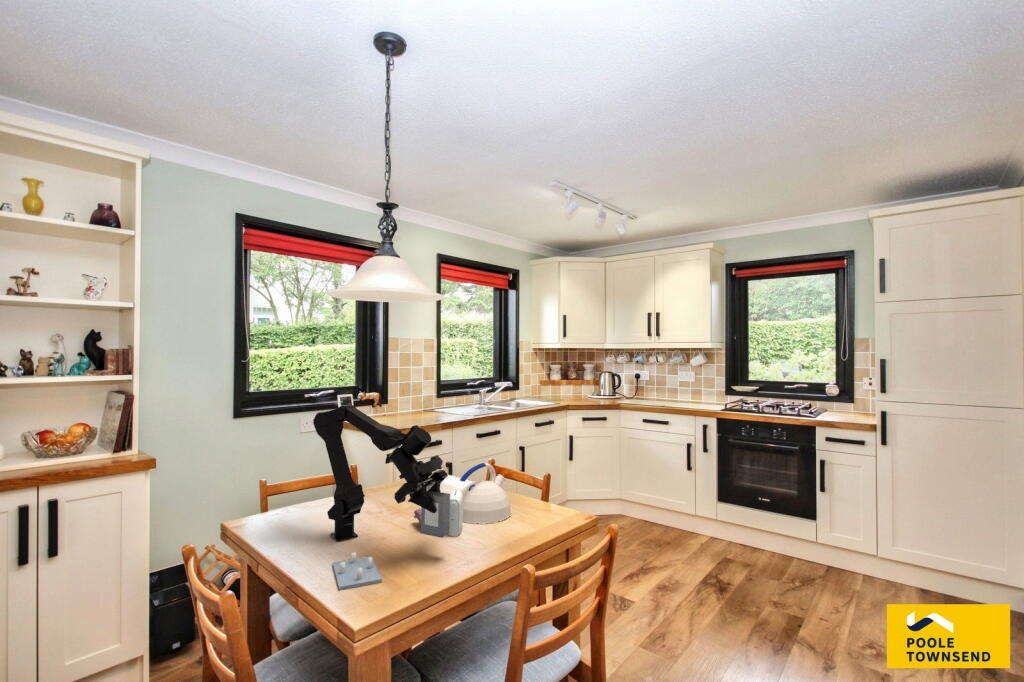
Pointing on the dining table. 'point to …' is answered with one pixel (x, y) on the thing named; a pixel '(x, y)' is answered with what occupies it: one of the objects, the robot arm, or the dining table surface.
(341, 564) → the grey peg board
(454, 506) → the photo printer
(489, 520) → the kettle
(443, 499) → the block
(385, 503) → the dining table surface
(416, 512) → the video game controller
